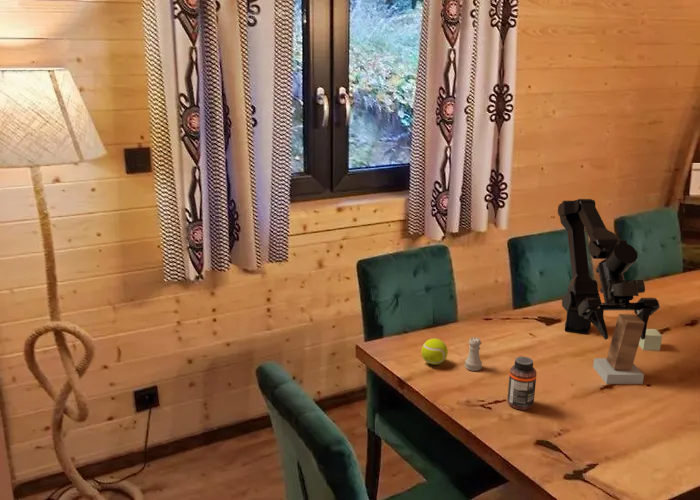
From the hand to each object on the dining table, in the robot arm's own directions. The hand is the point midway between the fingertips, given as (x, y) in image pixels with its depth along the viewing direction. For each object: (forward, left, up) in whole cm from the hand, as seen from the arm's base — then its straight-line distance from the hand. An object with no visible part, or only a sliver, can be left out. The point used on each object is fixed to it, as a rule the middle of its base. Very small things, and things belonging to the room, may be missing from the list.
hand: (625, 339), depth 167 cm
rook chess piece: (-35, -7, -11) cm, 38 cm away
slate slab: (0, +1, -11) cm, 11 cm away
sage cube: (+9, +22, -11) cm, 26 cm away
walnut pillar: (0, +1, -8) cm, 8 cm away
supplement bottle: (-22, -22, -11) cm, 33 cm away
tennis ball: (-45, -8, -11) cm, 47 cm away
